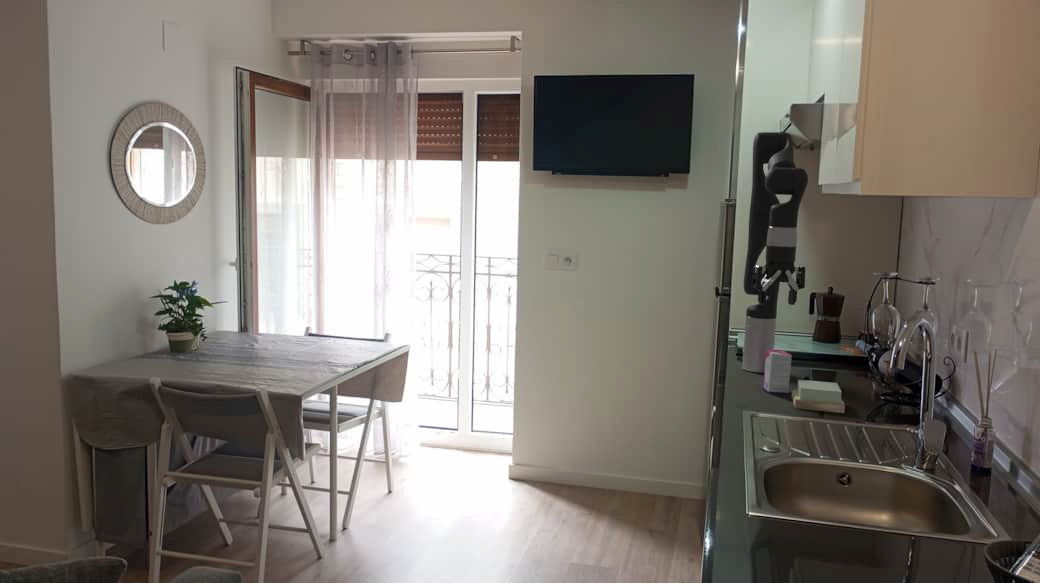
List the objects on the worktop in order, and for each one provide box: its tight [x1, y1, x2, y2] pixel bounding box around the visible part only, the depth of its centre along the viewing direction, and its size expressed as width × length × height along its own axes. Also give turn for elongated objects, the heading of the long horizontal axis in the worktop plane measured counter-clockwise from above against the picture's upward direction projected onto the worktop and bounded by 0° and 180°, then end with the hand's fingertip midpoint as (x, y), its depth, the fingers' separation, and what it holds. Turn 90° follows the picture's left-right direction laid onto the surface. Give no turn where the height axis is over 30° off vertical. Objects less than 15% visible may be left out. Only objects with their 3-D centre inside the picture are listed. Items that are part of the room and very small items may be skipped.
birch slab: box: [791, 388, 846, 414], centre depth 208 cm, size 12×12×3 cm
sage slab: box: [796, 379, 842, 403], centre depth 208 cm, size 10×10×3 cm
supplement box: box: [762, 350, 793, 395], centre depth 221 cm, size 6×6×12 cm
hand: (776, 304), depth 208 cm, fingers open, 8 cm apart
